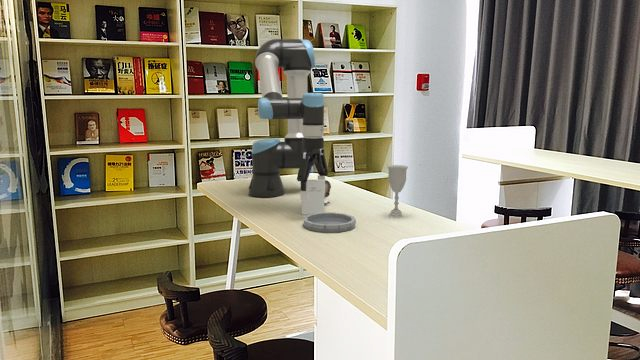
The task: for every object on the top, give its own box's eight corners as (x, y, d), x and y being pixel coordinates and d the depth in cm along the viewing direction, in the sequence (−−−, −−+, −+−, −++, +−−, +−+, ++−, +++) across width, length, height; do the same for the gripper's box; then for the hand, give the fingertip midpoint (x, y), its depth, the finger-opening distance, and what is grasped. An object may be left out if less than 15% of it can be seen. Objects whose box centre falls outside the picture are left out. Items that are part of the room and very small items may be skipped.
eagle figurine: (321, 200, 213) (322, 178, 211) (335, 203, 208) (335, 181, 207) (308, 204, 208) (308, 181, 206) (321, 206, 203) (322, 183, 201)
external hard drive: (301, 213, 192) (301, 179, 190) (323, 213, 193) (324, 179, 191) (301, 214, 191) (301, 180, 188) (324, 214, 191) (324, 180, 189)
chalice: (407, 215, 191) (409, 165, 188) (404, 219, 185) (406, 168, 181) (387, 213, 193) (389, 164, 190) (383, 217, 187) (385, 167, 184)
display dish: (294, 228, 172) (294, 221, 172) (317, 217, 187) (317, 210, 187) (342, 235, 165) (343, 227, 165) (362, 222, 180) (362, 215, 180)
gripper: (306, 140, 174) (306, 203, 178) (337, 135, 196) (336, 191, 200) (286, 139, 177) (287, 201, 181) (318, 134, 200) (318, 189, 203)
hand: (313, 196), depth 190 cm, fingers open, 13 cm apart
